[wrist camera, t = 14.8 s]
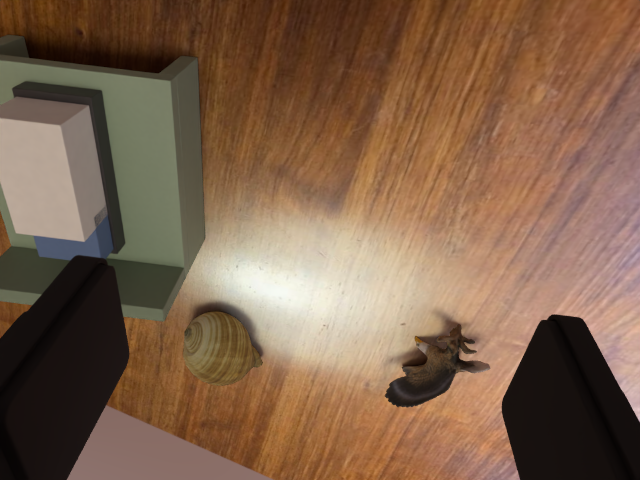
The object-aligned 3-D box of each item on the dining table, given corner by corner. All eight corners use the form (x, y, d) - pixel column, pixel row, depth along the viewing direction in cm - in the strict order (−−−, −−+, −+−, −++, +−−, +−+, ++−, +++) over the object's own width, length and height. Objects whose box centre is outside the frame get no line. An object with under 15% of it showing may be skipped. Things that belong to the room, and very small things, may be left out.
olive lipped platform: (8, 34, 36) (-115, 76, 27) (197, 57, 36) (140, 107, 26) (53, 219, 45) (-26, 298, 36) (205, 238, 45) (164, 322, 35)
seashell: (261, 326, 56) (292, 350, 49) (229, 381, 55) (255, 414, 48) (189, 288, 51) (211, 309, 44) (152, 348, 50) (169, 379, 43)
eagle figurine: (410, 309, 46) (367, 379, 49) (463, 364, 41) (411, 437, 44) (457, 309, 51) (415, 373, 54) (510, 358, 46) (460, 424, 49)
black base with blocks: (25, 80, 31) (-27, 106, 27) (102, 90, 31) (62, 117, 27) (62, 235, 38) (25, 274, 34) (125, 243, 38) (96, 283, 34)
